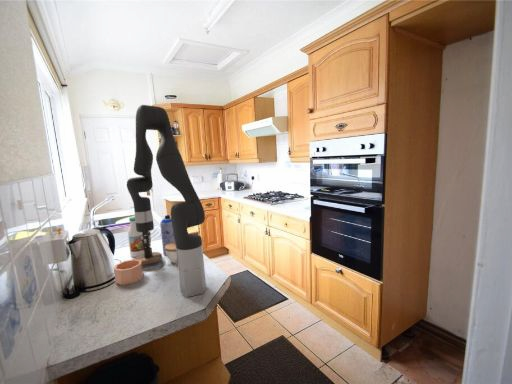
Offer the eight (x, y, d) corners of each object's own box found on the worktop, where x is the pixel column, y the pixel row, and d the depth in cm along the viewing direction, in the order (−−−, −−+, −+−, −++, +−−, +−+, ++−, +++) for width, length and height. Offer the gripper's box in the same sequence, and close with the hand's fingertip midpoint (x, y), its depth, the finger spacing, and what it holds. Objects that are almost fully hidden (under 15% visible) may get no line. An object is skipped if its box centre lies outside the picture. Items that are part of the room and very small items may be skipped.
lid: (161, 261, 117) (160, 250, 116) (133, 266, 113) (132, 255, 112) (161, 252, 128) (160, 243, 127) (136, 256, 124) (135, 246, 123)
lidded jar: (183, 265, 117) (181, 246, 116) (162, 264, 119) (159, 245, 118) (193, 256, 127) (191, 238, 126) (173, 255, 130) (171, 237, 128)
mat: (161, 266, 118) (161, 265, 118) (135, 271, 114) (135, 269, 114) (161, 257, 128) (161, 256, 128) (137, 261, 124) (137, 260, 124)
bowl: (141, 281, 104) (140, 267, 104) (114, 286, 101) (112, 272, 100) (143, 270, 114) (142, 258, 113) (118, 275, 111) (116, 262, 110)
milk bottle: (127, 256, 132) (122, 218, 129) (139, 250, 139) (134, 214, 136) (138, 257, 129) (133, 219, 126) (150, 252, 136) (145, 215, 133)
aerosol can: (179, 254, 131) (175, 216, 128) (163, 257, 129) (159, 218, 125) (178, 249, 139) (174, 212, 136) (162, 251, 136) (158, 214, 133)
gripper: (152, 222, 112) (156, 259, 115) (153, 215, 126) (157, 249, 128) (133, 225, 110) (138, 263, 113) (136, 217, 123) (141, 251, 126)
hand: (148, 255), depth 120 cm, fingers closed on lid, 3 cm apart
